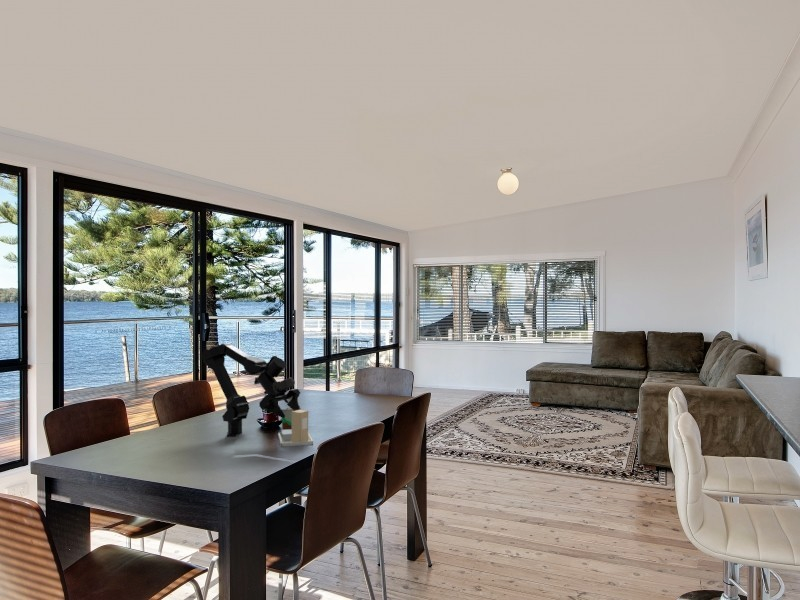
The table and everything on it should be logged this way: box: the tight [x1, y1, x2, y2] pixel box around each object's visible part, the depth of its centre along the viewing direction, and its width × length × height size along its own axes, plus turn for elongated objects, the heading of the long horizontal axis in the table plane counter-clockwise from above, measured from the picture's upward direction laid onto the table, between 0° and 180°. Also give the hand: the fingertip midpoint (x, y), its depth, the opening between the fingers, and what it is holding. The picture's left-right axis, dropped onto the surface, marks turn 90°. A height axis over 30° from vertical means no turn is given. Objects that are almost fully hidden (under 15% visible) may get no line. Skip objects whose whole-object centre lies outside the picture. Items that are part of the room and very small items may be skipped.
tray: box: [277, 431, 314, 448], centre depth 224 cm, size 18×12×2 cm, turn 15°
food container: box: [281, 405, 302, 431], centre depth 243 cm, size 12×6×10 cm, turn 168°
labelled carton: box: [292, 409, 309, 442], centre depth 220 cm, size 5×4×12 cm
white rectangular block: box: [281, 429, 292, 441], centre depth 226 cm, size 8×4×2 cm, turn 15°
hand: (292, 415), depth 221 cm, fingers open, 9 cm apart
